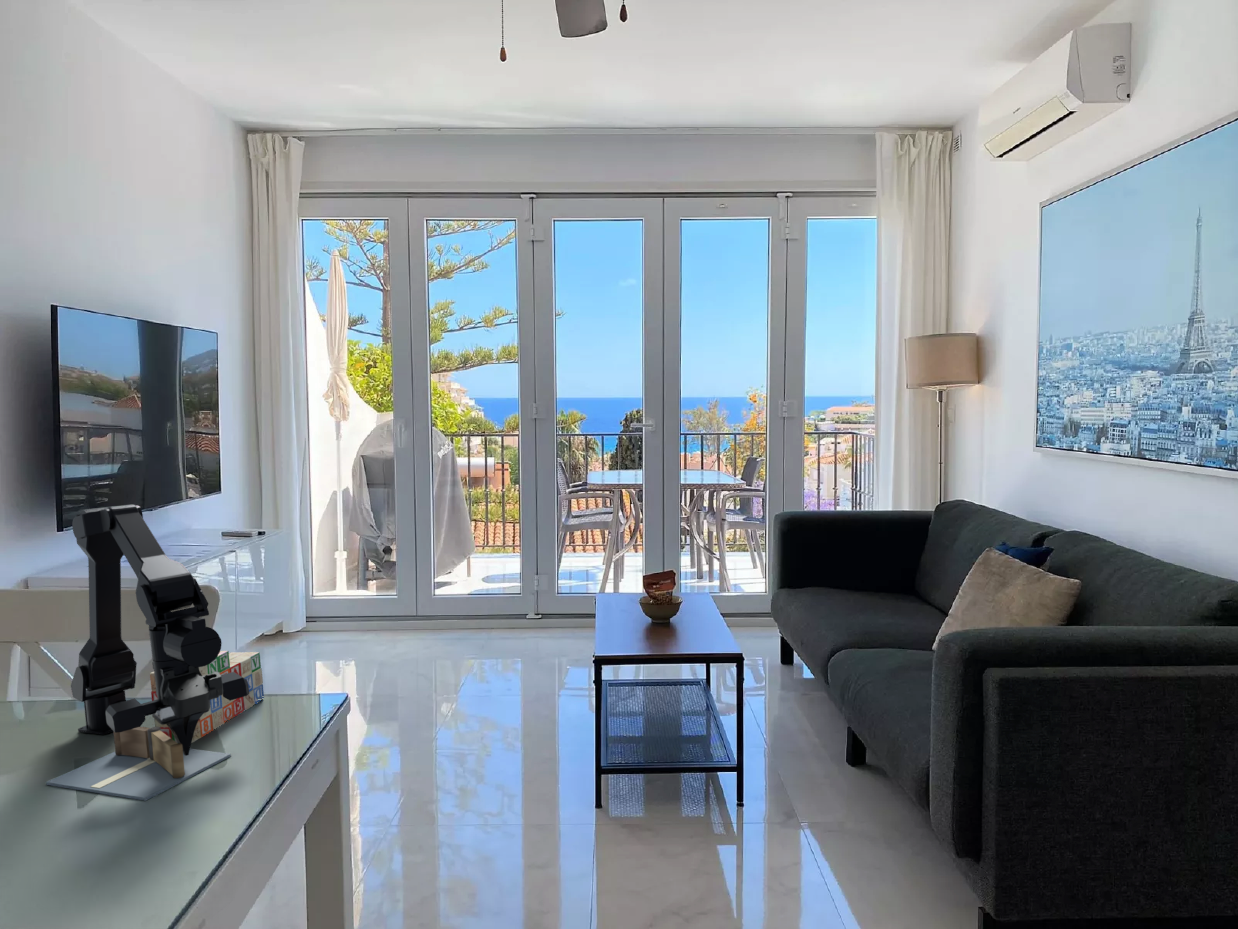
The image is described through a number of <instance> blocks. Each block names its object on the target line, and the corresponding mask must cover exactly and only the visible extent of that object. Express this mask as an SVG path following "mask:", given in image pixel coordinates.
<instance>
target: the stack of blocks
mask: <svg viewBox="0 0 1238 929" xmlns="http://www.w3.org/2000/svg"><path fill="white" fill-rule="evenodd" d="M261 664H262V663H261V654H260V652H259V651H258V652H257V651H256V652H255V651H251V652H250V651H246V652H245V651H244V652H243V651H241V652H230V651H229V650H220V653H219V654H218V656H217V658H216V659H215V660H214V661H213V662H211V663H210V664H208V665H206V666H203V667H199V671H200V673H201V675H202V676H204V675H208V674H212V673H216V672H219V674H220V675H224V674H227V673H231V672H235V673H236V674H238V675H240V676H241V677H243V678H245V679H246V680H247V682H248V686H249V695H247V696H244V697H241V698H237V699H234V700H231V701H230V700H228V699H226V698H225V697H223V694H222V695H221V696H219V697H218V698H215V699H211V700H210V709H209V711H208V712H206V713H204V714H203V715H202V716H201V717H200V719H199V720H198V723H197V725H196V728H195V731H194V735H193V739H192V743H195V742H196V741H197V740H199V739H201V738H203V737H205V736H206V734H207V735H208V734H210V733H212V732H213V731H215V730H217V729H218V728H220V727H221V725H222V724H223V725H225V724H226V723H227V722H228V721H227V720H229V721H231V720H232V719H234V718H235V716H236V717H237V716H239V715H240V713H241V714H242V713H243V711H244V710H246V711H247V710H249V709H251V708H253V707H254V706H255V705H254V704H256V705H257V704H258V703H257V702H259V701H261V700H258V699H262V698H264V699H265V694H264V679H263V670H262V665H261ZM149 678H150V687H151V692H150V693H151V694H150V695H151V701H154V700H157V699H158V698H157V695H156V683H155V675H154V670H153V671H152V672H150V673H149ZM262 696H264V697H262ZM261 702H262V701H261ZM259 703H260V702H259ZM253 705H254V706H253ZM250 707H251V708H250ZM244 712H245V711H244ZM238 714H239V715H238ZM233 717H234V718H233ZM231 718H232V719H231ZM230 719H231V720H230ZM153 720H154V727H160V728H161V731H162V732H163V733H164V734H166V735H167V736H168V737H170V738H171V739H172V740H174V741H175V742H177V740H176V738H175V737H174V735H173V733H172V731H171V730H170V728H169V727H168V726H167V724H165V725H162V724H160V723H159V722H158V721H157V720H155V719H154V718H153ZM226 721H227V722H226ZM225 722H226V723H225ZM223 725H222V726H223ZM219 726H220V727H219ZM217 727H218V728H217ZM216 728H217V729H216ZM214 729H215V730H214ZM211 731H212V732H211ZM209 732H210V733H209ZM177 743H178V742H177ZM192 743H191V744H192Z"/></svg>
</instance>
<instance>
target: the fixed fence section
mask: <svg viewBox="0 0 1238 929" xmlns="http://www.w3.org/2000/svg"><path fill="white" fill-rule="evenodd" d="M149 728H150V727H146V726H140V727H137V728H134V729H130V730H127V731H123V732H117V733H115V732H114V731H112V732H113V739H114V740H113V741H114V752H115V753H116V755H128V756H135V757H143V758H149V757H150V753H149V742H148V731H147V730H148V729H149Z"/></svg>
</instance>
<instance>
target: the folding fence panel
mask: <svg viewBox="0 0 1238 929" xmlns="http://www.w3.org/2000/svg"><path fill="white" fill-rule="evenodd" d="M148 728H149V729H148V730H147V731H148V742H149V753H150V759H151V760H155V761H156V762H157V763H158V764H159V765H161V766H162V767H163V768H164V769H165V770H167V771H168V772H169V773H170V774H171V775H173V778H180V777H183V776H184V775H185V770H184V758H183V747H182V744H181V743H177V742H175V741H174V740H172V739H171V738H170V737H168V736H167V735H166V734H164V733H163V732H162V731H161V728H160V727H155V726H153V727H148Z"/></svg>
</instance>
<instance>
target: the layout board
mask: <svg viewBox="0 0 1238 929" xmlns="http://www.w3.org/2000/svg"><path fill="white" fill-rule="evenodd" d="M230 757H232V754H231V753H227V752H219V751H211V750H203V749H198V748H197V749H195V748H190V751H189V755H187V756H185V755H184V753H183V758H184V770H185V775H184V776H183V777H180V778H173V775H171V774H170V773H169V772H168V771H167V770H165V769H164V768H163V767H162V766H161V765H159V764H158V763H157V762H156V761H155V760H151V759H150V757H149V758H143V757H135V756H128V755H116V753H115V751H113V752H110V753H109V754H106V755H104V756H101V757H100V758H97V759H94V760H92V761H90V762H88V763H86V764H84V765H82V766H79V767H77V768H75V769H73V770H70V771H68V772H66V773H63V774H61V775H59V776H57V777H54V778H52V779H49V780H48V781H45V784H46V786H47V785H48V786H52V787H58V788H65V789H71V790H78V791H83V792H89V793H96V794H101V795H109V796H113V797H115V796H116V797H119V798H127V799H133V800H139V801H144V802H145V801H148V800H150V799H151V798H153V797H156V796H157V795H159V794H161V793H163V792H165V791H168V790H169V789H171V788H173V787H174V786H177V785H178V784H181V783H182V782H185V781H187V780H188V779H190V778H192V777H194V776H196V775H197V774H200V773H202V772H203V771H205V770H208V769H209V768H211V767H213V766H215V765H217V764H220V763H221V762H222V761H225V760H226V759H229V758H230Z"/></svg>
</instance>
